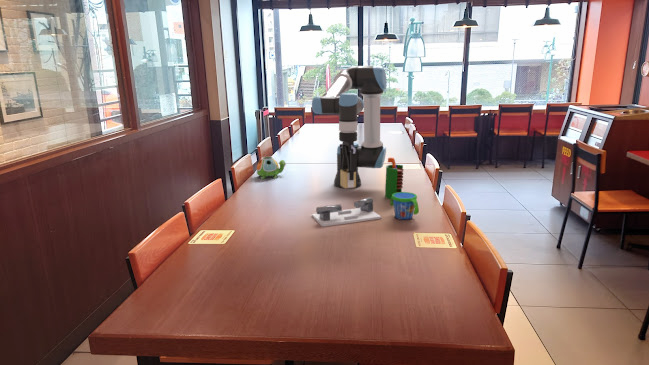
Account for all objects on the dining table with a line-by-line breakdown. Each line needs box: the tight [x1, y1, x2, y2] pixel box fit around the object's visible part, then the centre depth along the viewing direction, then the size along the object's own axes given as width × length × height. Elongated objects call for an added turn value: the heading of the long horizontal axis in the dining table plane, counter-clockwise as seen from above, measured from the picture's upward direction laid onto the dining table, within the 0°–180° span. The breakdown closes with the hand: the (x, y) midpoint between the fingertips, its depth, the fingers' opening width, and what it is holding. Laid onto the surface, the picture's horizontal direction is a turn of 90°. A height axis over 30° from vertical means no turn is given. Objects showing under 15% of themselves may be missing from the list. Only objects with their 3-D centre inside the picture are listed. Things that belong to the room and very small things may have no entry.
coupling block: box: [340, 169, 357, 189], centre depth 181 cm, size 5×5×7 cm
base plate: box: [311, 207, 382, 228], centre depth 186 cm, size 14×27×2 cm, turn 110°
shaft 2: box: [353, 197, 374, 212], centre depth 190 cm, size 9×5×6 cm, turn 130°
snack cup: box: [389, 191, 419, 220], centre depth 184 cm, size 16×10×10 cm
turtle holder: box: [256, 156, 286, 180], centre depth 257 cm, size 12×18×12 cm
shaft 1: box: [315, 204, 343, 221], centre depth 181 cm, size 10×5×6 cm, turn 110°
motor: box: [384, 157, 404, 200], centre depth 213 cm, size 10×9×20 cm
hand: (347, 185), depth 182 cm, fingers closed on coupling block, 5 cm apart
